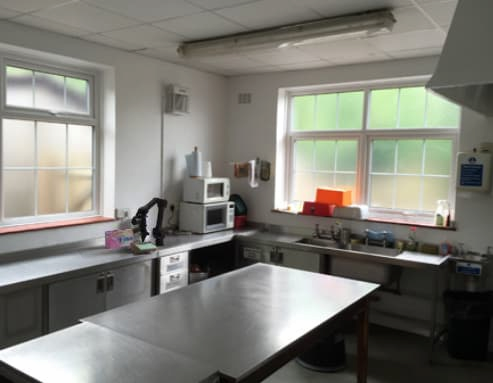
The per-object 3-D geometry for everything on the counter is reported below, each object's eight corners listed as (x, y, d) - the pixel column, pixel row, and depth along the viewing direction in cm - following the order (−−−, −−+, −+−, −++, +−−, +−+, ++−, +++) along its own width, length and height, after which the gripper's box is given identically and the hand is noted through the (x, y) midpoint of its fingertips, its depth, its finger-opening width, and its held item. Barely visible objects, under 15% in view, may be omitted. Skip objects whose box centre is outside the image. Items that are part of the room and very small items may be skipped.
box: (149, 246, 369) (149, 240, 369) (156, 251, 353) (156, 244, 353) (130, 248, 362) (130, 242, 361) (136, 253, 346) (135, 246, 345)
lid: (150, 244, 360) (150, 241, 360) (157, 248, 345) (157, 245, 344) (135, 245, 354) (135, 242, 354) (141, 249, 339) (140, 246, 338)
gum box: (130, 243, 383) (130, 227, 382) (135, 244, 378) (135, 229, 377) (104, 247, 366) (104, 231, 365) (109, 249, 361) (109, 232, 360)
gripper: (129, 222, 360) (130, 241, 362) (135, 226, 344) (135, 245, 345) (143, 221, 365) (143, 240, 367) (149, 224, 349) (150, 244, 350)
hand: (142, 242), depth 357 cm, fingers closed
